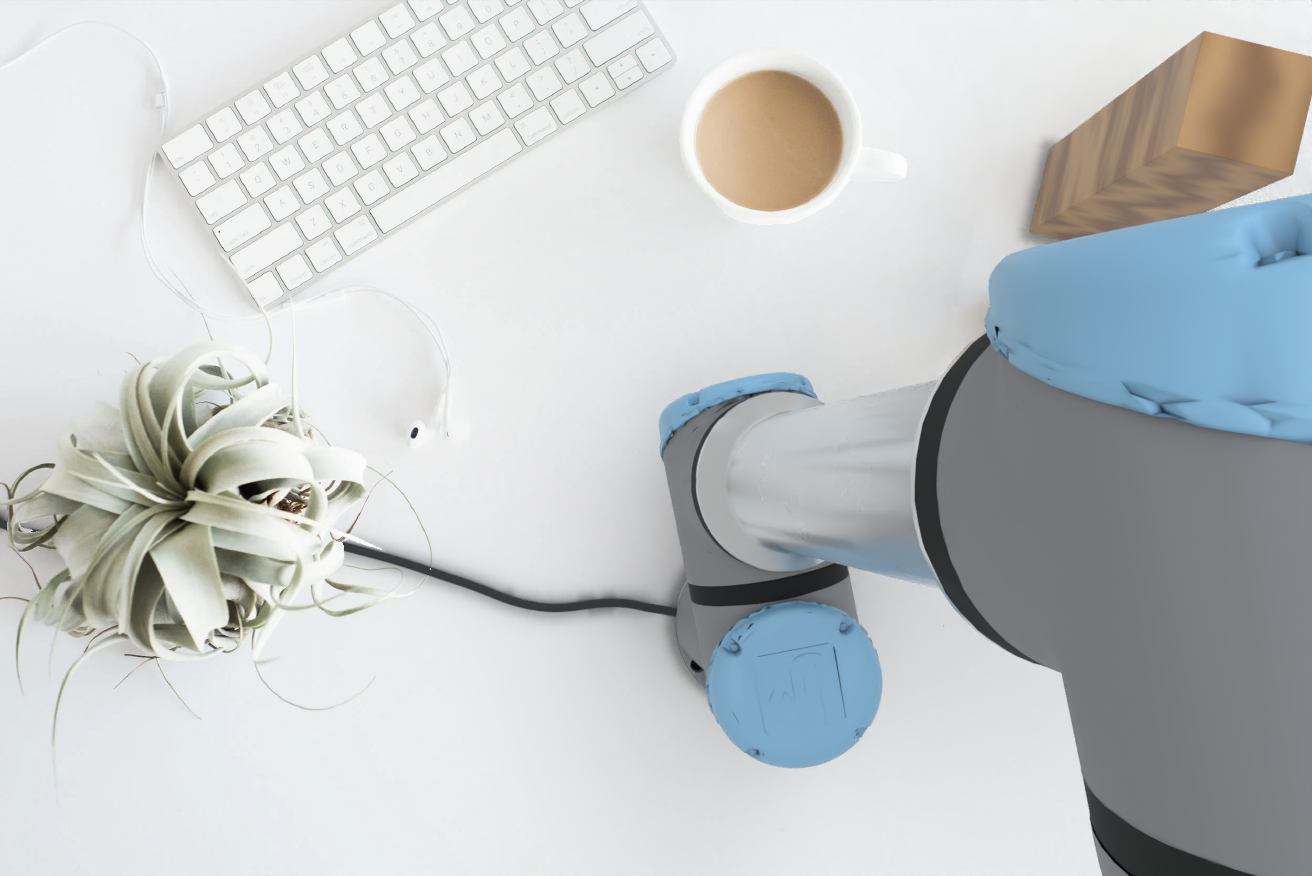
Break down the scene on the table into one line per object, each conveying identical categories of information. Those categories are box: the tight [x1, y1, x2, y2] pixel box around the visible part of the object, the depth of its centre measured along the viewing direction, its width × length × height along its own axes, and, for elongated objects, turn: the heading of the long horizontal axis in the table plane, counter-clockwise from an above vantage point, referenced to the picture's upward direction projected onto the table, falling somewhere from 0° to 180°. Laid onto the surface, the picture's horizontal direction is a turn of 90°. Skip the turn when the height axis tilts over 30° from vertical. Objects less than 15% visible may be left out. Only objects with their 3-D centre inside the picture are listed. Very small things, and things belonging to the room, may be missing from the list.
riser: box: [1029, 30, 1312, 241], centre depth 66 cm, size 8×8×22 cm
